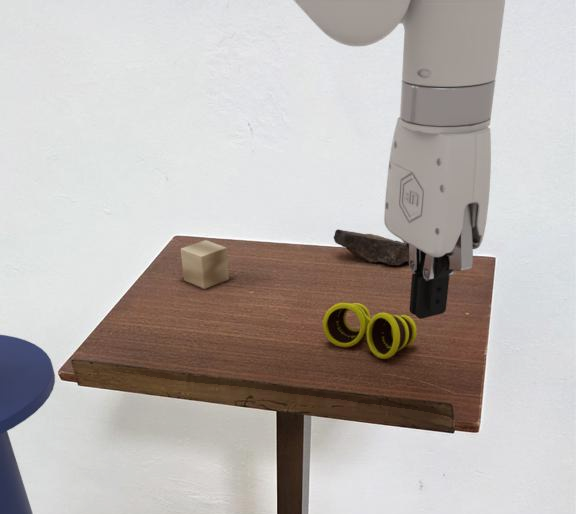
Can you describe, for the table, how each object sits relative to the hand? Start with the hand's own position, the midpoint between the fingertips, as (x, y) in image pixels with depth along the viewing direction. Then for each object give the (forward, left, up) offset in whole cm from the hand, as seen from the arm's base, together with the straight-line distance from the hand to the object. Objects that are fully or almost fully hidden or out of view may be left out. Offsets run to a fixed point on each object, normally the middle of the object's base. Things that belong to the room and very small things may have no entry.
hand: (427, 312), depth 73 cm
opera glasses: (0, +10, -8) cm, 13 cm away
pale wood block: (-10, +37, -8) cm, 39 cm away
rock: (+14, +33, -8) cm, 37 cm away
